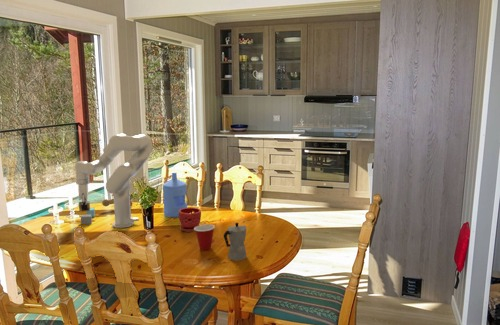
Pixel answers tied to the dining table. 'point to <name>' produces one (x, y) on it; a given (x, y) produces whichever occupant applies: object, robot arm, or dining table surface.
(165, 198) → the water jug
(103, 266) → the dining table surface
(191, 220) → the plant pot
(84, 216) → the base block
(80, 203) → the walnut block
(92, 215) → the teal block
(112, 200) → the toy helicopter
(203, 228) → the plastic cup
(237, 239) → the coffeepot
